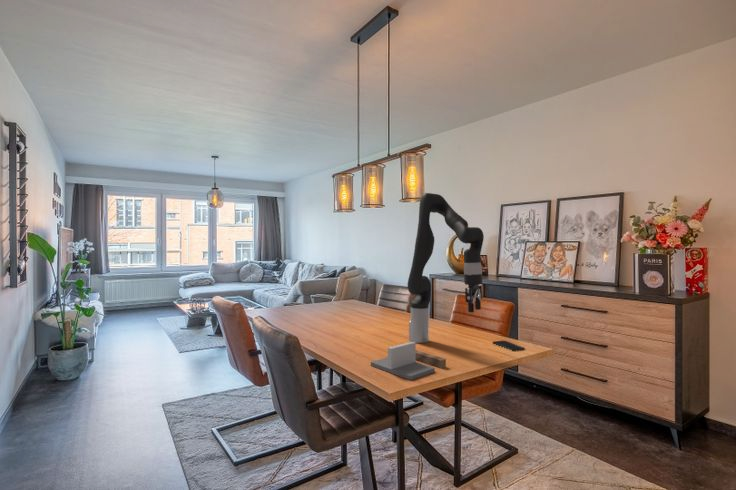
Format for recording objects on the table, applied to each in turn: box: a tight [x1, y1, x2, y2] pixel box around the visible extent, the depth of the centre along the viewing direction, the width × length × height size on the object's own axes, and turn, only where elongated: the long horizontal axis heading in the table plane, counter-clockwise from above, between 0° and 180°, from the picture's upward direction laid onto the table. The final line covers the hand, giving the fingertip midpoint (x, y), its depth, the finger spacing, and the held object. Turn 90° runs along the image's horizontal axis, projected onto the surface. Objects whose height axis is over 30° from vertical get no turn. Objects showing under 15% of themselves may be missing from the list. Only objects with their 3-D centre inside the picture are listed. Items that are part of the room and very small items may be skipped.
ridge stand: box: [370, 341, 436, 381], centre depth 156 cm, size 22×14×10 cm, turn 41°
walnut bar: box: [416, 350, 447, 369], centre depth 166 cm, size 20×3×4 cm, turn 40°
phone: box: [492, 340, 526, 352], centre depth 190 cm, size 8×1×15 cm
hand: (474, 310), depth 168 cm, fingers open, 8 cm apart
